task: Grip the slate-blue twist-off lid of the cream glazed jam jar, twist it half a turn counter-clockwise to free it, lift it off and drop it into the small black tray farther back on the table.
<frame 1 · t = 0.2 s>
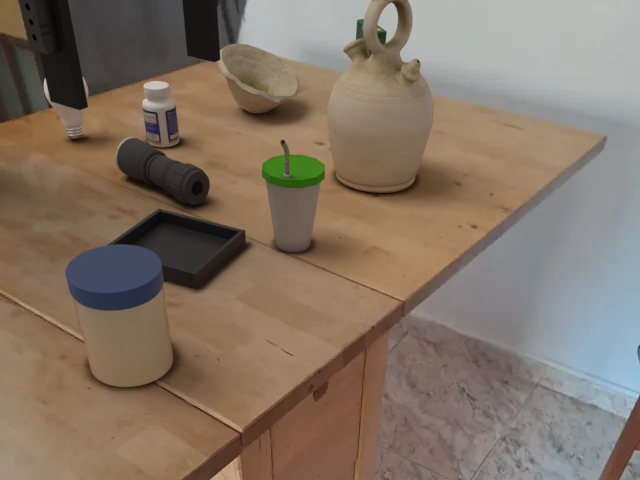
hand: (142, 79, 49), 28 cm above the table, tool pointing down, fingers open, 13 cm apart
lid: (114, 271, 64), point 11 cm above the table, screwed on, not yet turned
coffee box: (365, 102, 132), on the table
bowl: (260, 112, 126), on the table
jug: (374, 178, 107), on the table
tray: (177, 253, 87), on the table
flashlight: (164, 190, 101), on the table
cup: (292, 245, 90), on the table
light bulb: (76, 140, 113), on the table
jar: (132, 361, 71), on the table
pill bottle: (163, 143, 114), on the table
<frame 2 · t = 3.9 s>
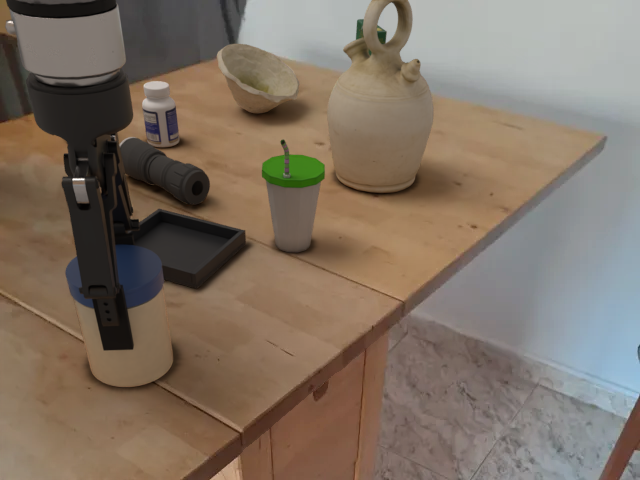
hand: (124, 319, 67), 5 cm above the table, tool pointing down, fingers closed on lid, 9 cm apart
lid: (114, 271, 64), point 11 cm above the table, screwed on, not yet turned, touching gripper
everything else where it was.
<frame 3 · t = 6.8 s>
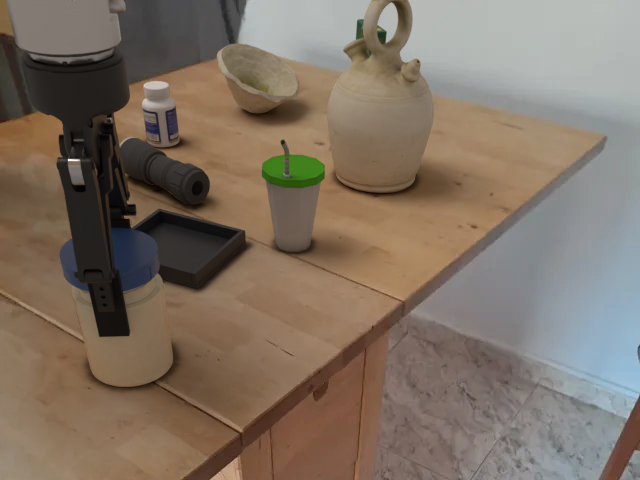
hand: (120, 305, 67), 7 cm above the table, tool pointing down, fingers closed on lid, 9 cm apart
lid: (109, 254, 63), point 12 cm above the table, off its thread, touching gripper
everything else where it was.
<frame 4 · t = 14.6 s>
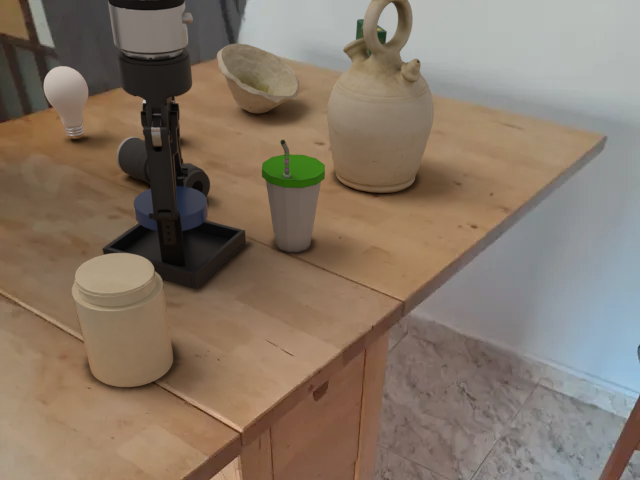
hand: (175, 245, 87), 1 cm above the table, tool pointing down, fingers closed on lid, 9 cm apart
lid: (170, 204, 83), point 7 cm above the table, off its thread, touching gripper
everything else where it was.
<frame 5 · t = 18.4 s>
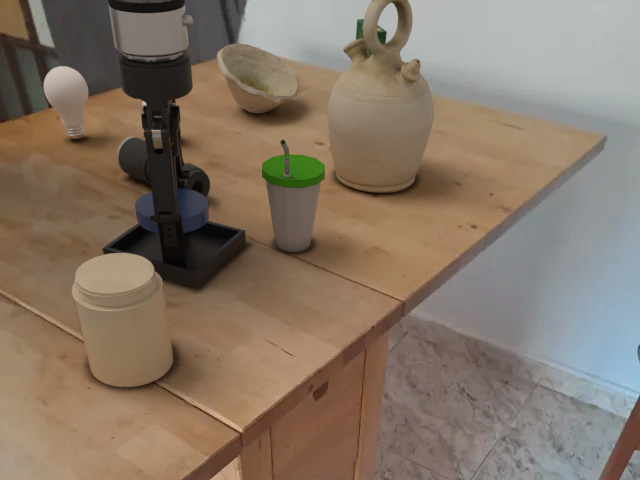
hand: (177, 248, 87), 1 cm above the table, tool pointing down, fingers closed on lid, 9 cm apart
lid: (172, 206, 83), point 6 cm above the table, off its thread, touching gripper
everything else where it was.
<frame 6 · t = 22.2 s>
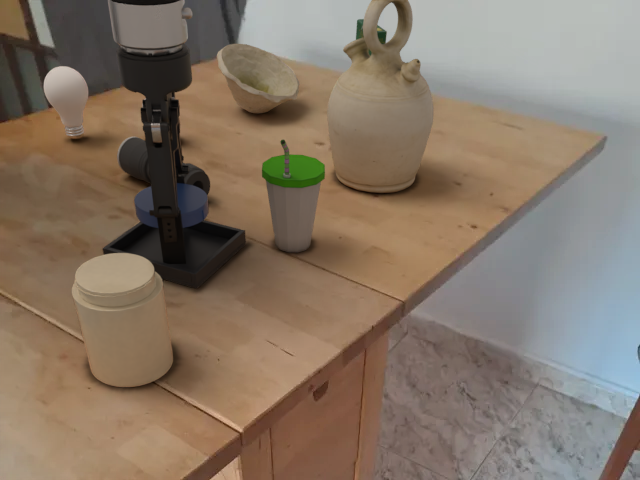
hand: (176, 243, 86), 1 cm above the table, tool pointing down, fingers closed on lid, 9 cm apart
lid: (171, 201, 83), point 7 cm above the table, off its thread, touching gripper
everything else where it was.
when the fingers open (3 cm above the table, at t = 29.5 s): lid drops 7 cm, resting on tray.
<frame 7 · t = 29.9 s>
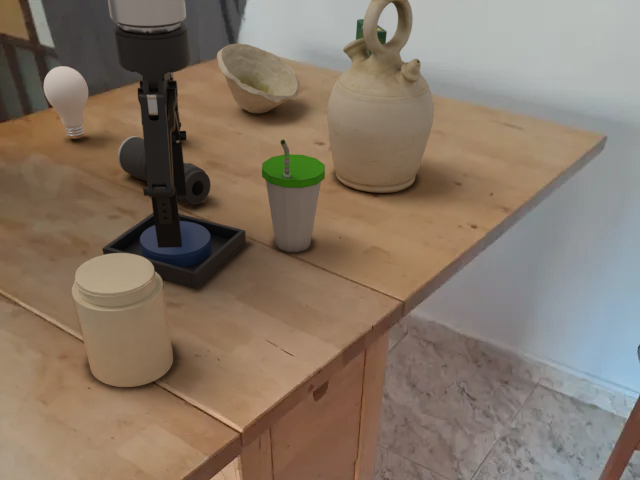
hand: (173, 219, 84), 5 cm above the table, tool pointing down, fingers open, 13 cm apart
lid: (175, 240, 86), point 2 cm above the table, off its thread, touching tray
everything else where it was.
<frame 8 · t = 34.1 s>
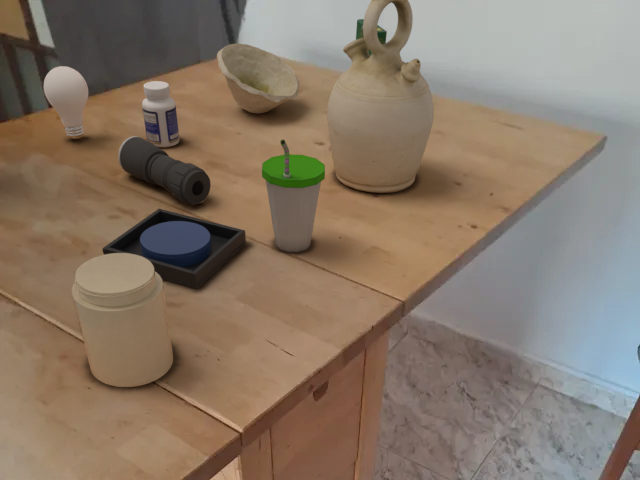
nothing on the table moved.
at the end: lid inside the target area in the tray (0.1 cm from its centre), point 1.9 cm above the tray's base; lid point 1.9 cm above the table; the gripper is holding nothing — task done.
